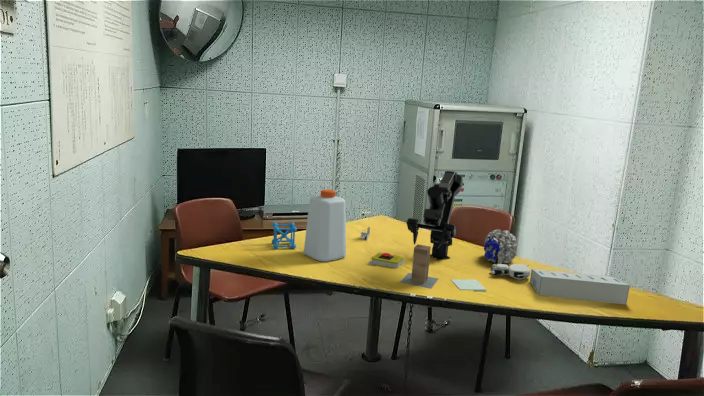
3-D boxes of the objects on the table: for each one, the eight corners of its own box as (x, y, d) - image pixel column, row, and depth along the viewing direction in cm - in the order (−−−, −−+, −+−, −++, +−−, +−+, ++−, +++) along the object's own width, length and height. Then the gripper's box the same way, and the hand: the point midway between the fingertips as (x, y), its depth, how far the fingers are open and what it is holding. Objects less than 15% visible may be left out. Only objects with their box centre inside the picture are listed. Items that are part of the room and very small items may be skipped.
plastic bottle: (299, 253, 209) (302, 188, 203) (327, 248, 219) (331, 186, 213) (321, 263, 198) (324, 195, 192) (349, 257, 208) (354, 192, 202)
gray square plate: (408, 273, 192) (408, 272, 192) (438, 279, 188) (438, 278, 188) (399, 283, 181) (399, 282, 181) (431, 289, 177) (431, 288, 177)
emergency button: (375, 248, 209) (409, 255, 204) (375, 258, 210) (408, 265, 204) (367, 254, 201) (402, 261, 195) (366, 264, 202) (401, 271, 196)
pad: (450, 280, 187) (450, 279, 187) (475, 281, 189) (475, 279, 189) (460, 290, 178) (460, 289, 177) (486, 291, 179) (486, 289, 179)
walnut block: (414, 277, 188) (417, 244, 185) (427, 279, 186) (430, 246, 183) (411, 281, 183) (414, 247, 181) (424, 283, 181) (427, 249, 179)
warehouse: (610, 290, 189) (613, 272, 187) (626, 305, 175) (629, 285, 173) (529, 282, 192) (532, 264, 191) (538, 296, 178) (541, 276, 177)
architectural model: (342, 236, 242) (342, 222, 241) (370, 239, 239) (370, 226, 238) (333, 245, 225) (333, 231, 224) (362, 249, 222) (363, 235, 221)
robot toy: (489, 279, 194) (529, 284, 189) (489, 268, 193) (530, 272, 188) (492, 270, 206) (530, 274, 200) (492, 260, 205) (530, 263, 200)
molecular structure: (273, 249, 212) (273, 227, 210) (271, 243, 222) (272, 221, 220) (296, 249, 215) (297, 227, 213) (293, 242, 224) (294, 221, 222)
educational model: (480, 274, 215) (480, 247, 207) (486, 244, 230) (487, 219, 221) (513, 278, 210) (515, 252, 202) (518, 248, 225) (519, 222, 216)
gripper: (409, 197, 193) (399, 230, 185) (457, 204, 186) (448, 238, 178) (413, 213, 201) (403, 246, 193) (459, 220, 194) (450, 254, 186)
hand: (425, 246), depth 188 cm, fingers open, 9 cm apart
